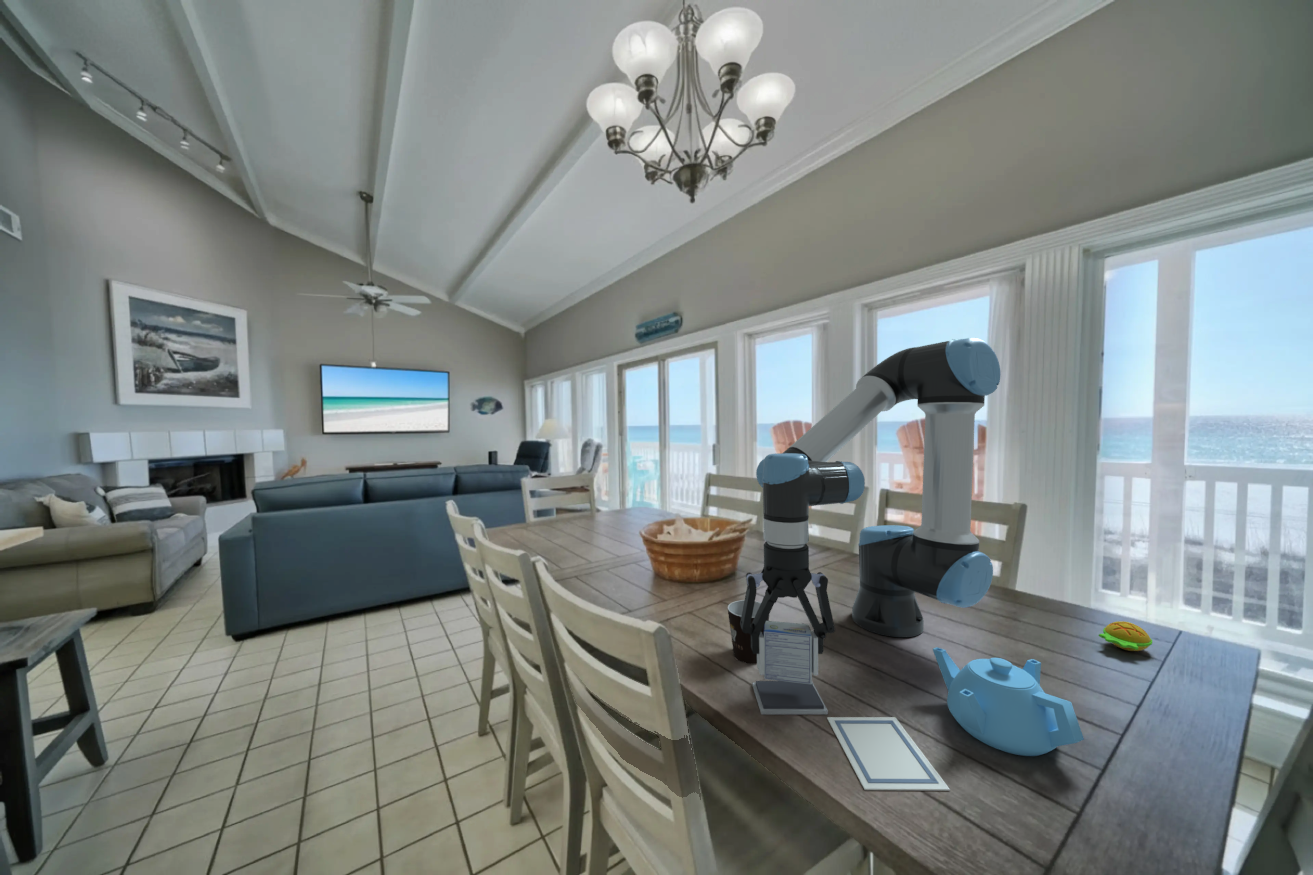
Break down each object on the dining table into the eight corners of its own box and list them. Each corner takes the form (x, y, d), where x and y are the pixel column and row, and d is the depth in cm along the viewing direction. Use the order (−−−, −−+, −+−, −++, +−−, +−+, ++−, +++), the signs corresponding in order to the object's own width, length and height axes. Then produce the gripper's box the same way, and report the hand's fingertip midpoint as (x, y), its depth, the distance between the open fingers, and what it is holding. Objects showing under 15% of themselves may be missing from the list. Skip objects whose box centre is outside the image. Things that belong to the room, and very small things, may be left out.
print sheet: (895, 718, 71) (895, 716, 71) (949, 790, 57) (949, 788, 57) (827, 718, 72) (827, 716, 72) (864, 789, 58) (864, 787, 58)
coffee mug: (771, 668, 86) (770, 618, 86) (727, 664, 88) (726, 616, 88) (768, 639, 98) (767, 595, 97) (729, 637, 99) (728, 593, 99)
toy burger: (1158, 651, 89) (1159, 625, 89) (1139, 664, 85) (1139, 637, 85) (1112, 637, 95) (1112, 612, 95) (1091, 648, 91) (1091, 623, 91)
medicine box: (809, 671, 78) (809, 623, 77) (812, 686, 73) (812, 635, 73) (763, 666, 80) (763, 619, 79) (764, 680, 75) (763, 630, 75)
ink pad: (812, 685, 81) (812, 678, 81) (827, 714, 73) (827, 707, 73) (752, 685, 81) (752, 679, 81) (761, 714, 73) (761, 707, 73)
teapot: (955, 750, 64) (955, 678, 64) (931, 691, 78) (931, 631, 78) (1089, 778, 59) (1090, 700, 58) (1038, 709, 73) (1038, 645, 72)
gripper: (839, 536, 79) (840, 659, 80) (721, 537, 80) (723, 659, 81) (857, 548, 72) (857, 683, 72) (727, 549, 73) (728, 683, 73)
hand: (787, 670), depth 77 cm, fingers closed on medicine box, 8 cm apart
